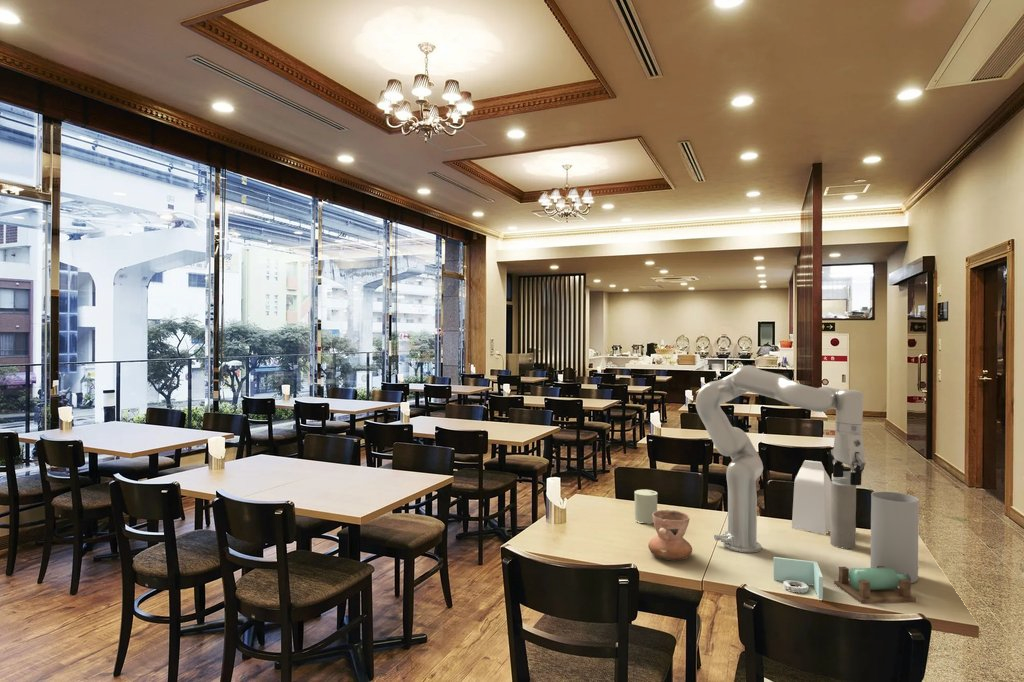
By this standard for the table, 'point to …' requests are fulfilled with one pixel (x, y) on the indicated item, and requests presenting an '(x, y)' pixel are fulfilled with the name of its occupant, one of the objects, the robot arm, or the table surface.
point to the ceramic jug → (670, 535)
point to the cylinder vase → (895, 532)
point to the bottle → (877, 578)
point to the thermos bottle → (843, 511)
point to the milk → (812, 498)
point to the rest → (874, 595)
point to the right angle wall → (798, 575)
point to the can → (645, 505)
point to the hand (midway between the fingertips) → (846, 480)
